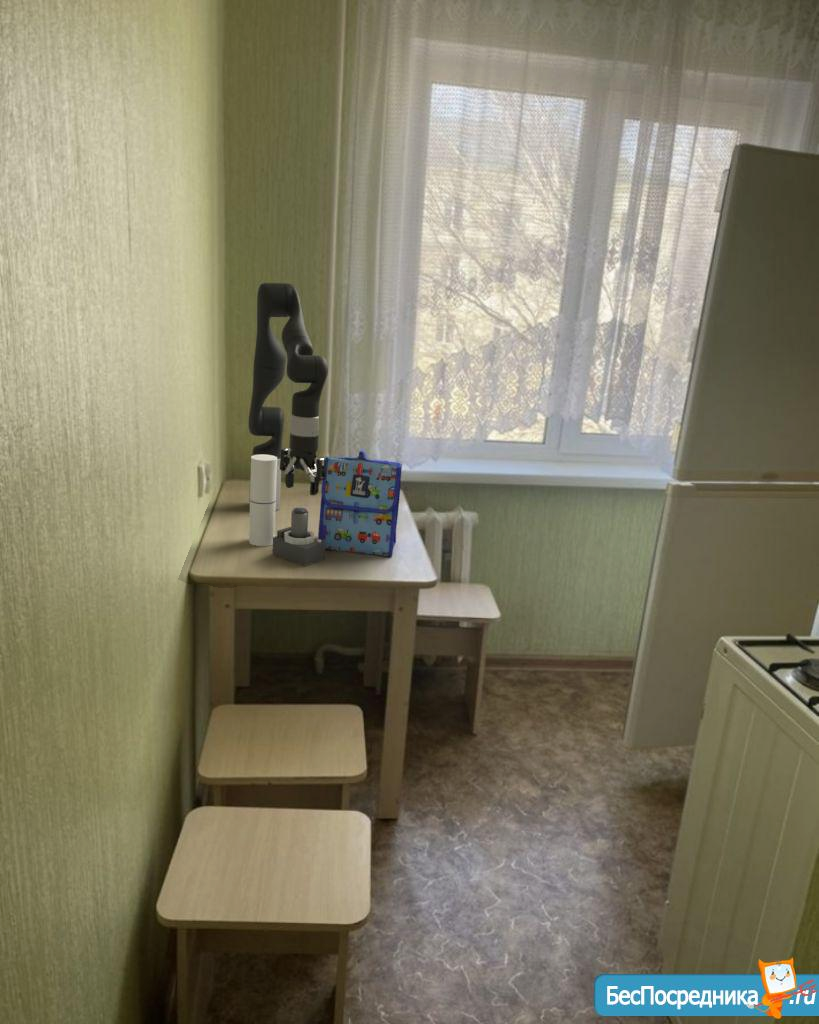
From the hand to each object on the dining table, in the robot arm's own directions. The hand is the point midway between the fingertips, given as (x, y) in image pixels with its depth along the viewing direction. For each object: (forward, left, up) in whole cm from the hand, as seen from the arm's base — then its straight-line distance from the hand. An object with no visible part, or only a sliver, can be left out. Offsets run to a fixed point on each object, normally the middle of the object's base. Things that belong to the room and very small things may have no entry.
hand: (301, 491), depth 205 cm
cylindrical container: (-15, +1, -19) cm, 24 cm away
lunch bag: (+6, +19, -19) cm, 28 cm away
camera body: (0, 0, -19) cm, 19 cm away
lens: (0, 0, -14) cm, 14 cm away
